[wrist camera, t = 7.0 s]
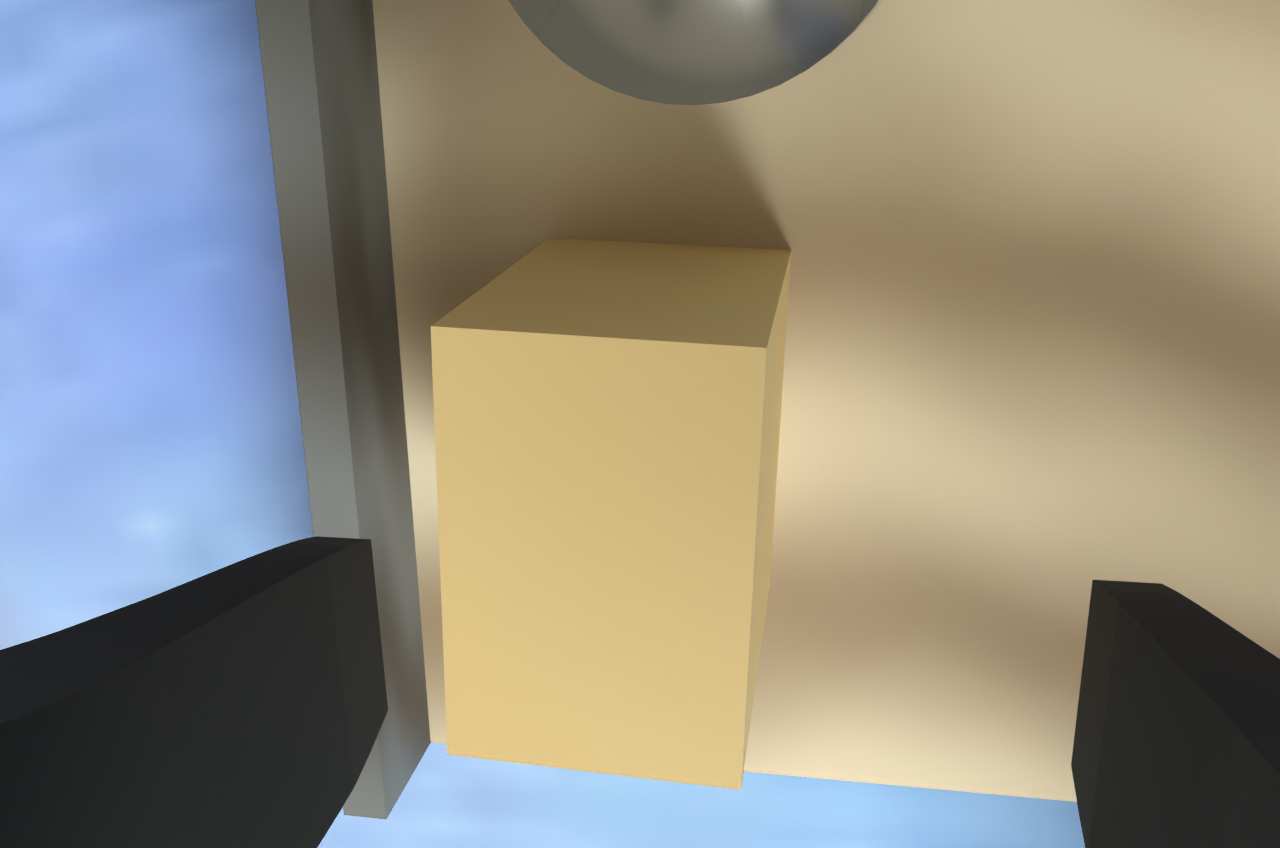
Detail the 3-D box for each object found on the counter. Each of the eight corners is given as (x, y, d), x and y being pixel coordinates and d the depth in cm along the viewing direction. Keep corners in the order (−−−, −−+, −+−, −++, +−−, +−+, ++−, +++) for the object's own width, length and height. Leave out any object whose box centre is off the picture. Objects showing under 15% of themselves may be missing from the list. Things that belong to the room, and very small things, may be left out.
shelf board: (1586, 808, 21) (1726, 958, 18) (409, 705, 25) (340, 814, 21) (1938, -360, 15) (2246, -466, 12) (327, -275, 19) (213, -339, 15)
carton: (770, 584, 21) (740, 790, 15) (549, 562, 22) (443, 753, 16) (791, 250, 19) (766, 347, 13) (546, 237, 20) (426, 325, 14)
